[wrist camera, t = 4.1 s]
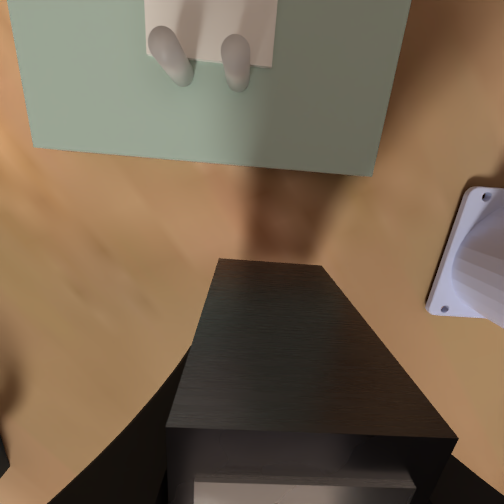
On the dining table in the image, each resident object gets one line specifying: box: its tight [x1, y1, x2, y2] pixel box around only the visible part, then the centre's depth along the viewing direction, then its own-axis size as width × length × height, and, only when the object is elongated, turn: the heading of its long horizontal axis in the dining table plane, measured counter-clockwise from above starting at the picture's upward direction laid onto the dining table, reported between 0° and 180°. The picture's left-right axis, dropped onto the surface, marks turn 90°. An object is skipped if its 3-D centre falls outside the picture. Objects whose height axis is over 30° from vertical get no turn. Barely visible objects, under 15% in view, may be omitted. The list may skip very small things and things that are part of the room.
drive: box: [165, 258, 459, 504], centre depth 7 cm, size 4×7×7 cm, turn 175°
